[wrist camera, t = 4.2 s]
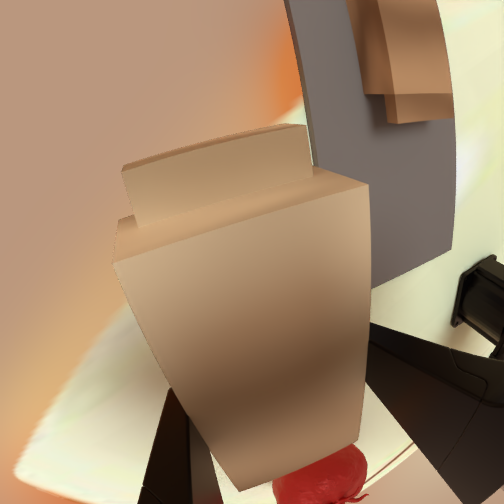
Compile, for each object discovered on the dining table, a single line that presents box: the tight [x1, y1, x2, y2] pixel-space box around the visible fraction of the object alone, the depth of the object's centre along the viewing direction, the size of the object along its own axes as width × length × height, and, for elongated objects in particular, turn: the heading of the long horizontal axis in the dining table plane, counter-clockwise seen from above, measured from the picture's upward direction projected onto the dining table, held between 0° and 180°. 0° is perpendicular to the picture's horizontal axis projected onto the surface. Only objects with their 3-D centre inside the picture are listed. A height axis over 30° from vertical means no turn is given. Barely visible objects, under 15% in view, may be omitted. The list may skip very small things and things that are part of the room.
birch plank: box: [112, 124, 371, 492], centre depth 9 cm, size 11×5×2 cm, turn 12°
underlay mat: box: [284, 0, 456, 289], centre depth 17 cm, size 20×12×1 cm, turn 12°
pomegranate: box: [272, 444, 369, 504], centre depth 25 cm, size 10×10×9 cm
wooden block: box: [346, 0, 454, 124], centre depth 13 cm, size 8×5×2 cm, turn 12°
